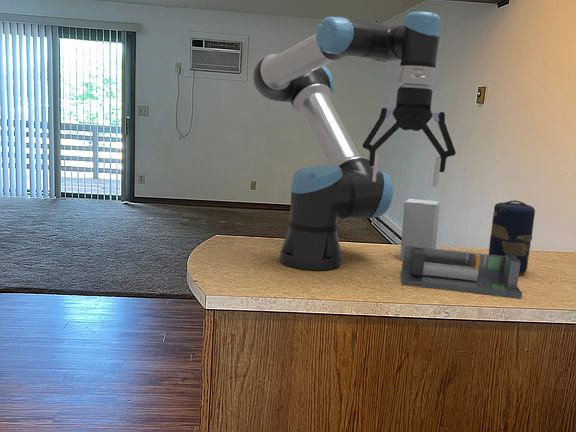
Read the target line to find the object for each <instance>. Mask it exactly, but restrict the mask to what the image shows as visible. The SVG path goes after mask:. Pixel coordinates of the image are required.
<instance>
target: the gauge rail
mask: <svg viewBox="0 0 576 432" xmlns="http://www.w3.org/2000/svg"><path fill="white" fill-rule="evenodd" d="M413 248H414V249H423V250H424V252H425V259H424V262H430V263H439V264H448V265H457V266H466V267H474V259H475V254H479V255H480V263H479V271H478V278H477V281H475V280H466V279H457V278H448V277H439V276H430V275H423V276H417V275H412V273H411V266H412V257H413ZM520 263H521V262H520V261H519V260H518V259H517V257H516V256H514V255H506V256H500V255H490V254H489V253H480V252H472V251H462V250H461V251H459V250H452V249H451V250H450V249H442V248H436V249H433V248H424V247H414V246H404V254H403V259H402V264H401V265H402V266H401V285H402V286H403V285H404V286H409V287H410V286H411V287H412V286H413V287H420V288H427V289H428V288H429V289H436V290H445V291H454V292H462V293H463V292H464V293H471V294H477V295H488V296H489V295H490V296H497V297H505V298H512V299H513V298H514V299H522V297H523V292H522V291H521V290H520V288H519V287H518V283H519V275H520V274H519V270H520Z"/></svg>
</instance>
